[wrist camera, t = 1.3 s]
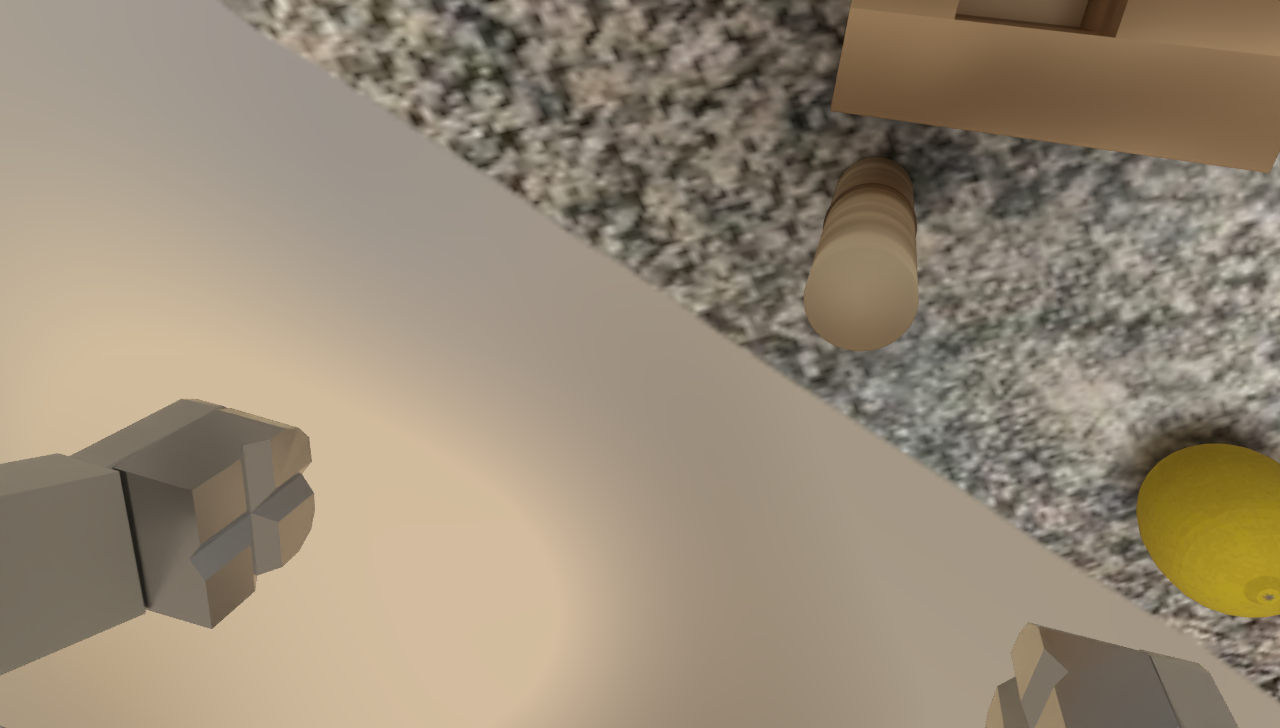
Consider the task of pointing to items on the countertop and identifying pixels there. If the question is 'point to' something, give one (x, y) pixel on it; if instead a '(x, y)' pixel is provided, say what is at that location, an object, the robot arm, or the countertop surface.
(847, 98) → the wooden peg hole block
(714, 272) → the countertop surface
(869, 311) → the peg
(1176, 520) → the lemon
